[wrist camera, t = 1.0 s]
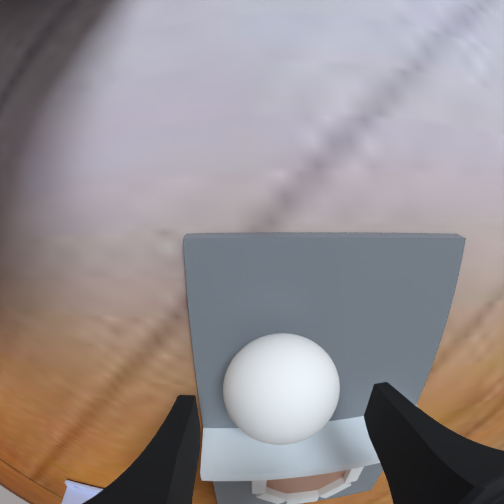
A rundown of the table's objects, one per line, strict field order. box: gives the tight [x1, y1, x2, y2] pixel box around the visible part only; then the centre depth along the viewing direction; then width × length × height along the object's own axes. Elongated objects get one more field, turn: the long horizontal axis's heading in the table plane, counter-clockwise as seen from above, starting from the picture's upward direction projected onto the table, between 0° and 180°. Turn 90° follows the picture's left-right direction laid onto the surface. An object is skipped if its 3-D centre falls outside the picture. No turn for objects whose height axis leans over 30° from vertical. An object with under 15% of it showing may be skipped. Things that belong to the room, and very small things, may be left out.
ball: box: [223, 333, 340, 445], centre depth 13 cm, size 5×5×5 cm
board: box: [183, 233, 466, 504], centre depth 16 cm, size 14×24×4 cm, turn 0°
